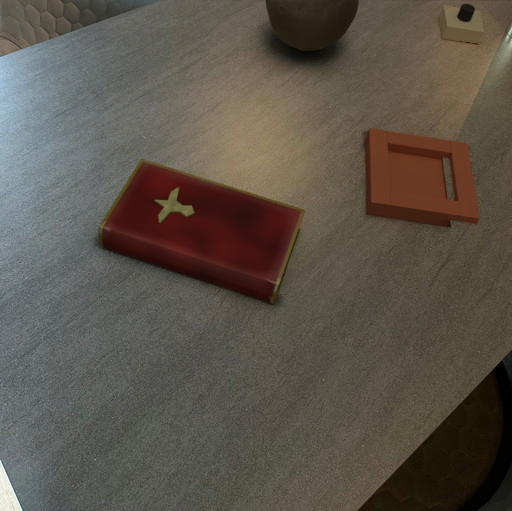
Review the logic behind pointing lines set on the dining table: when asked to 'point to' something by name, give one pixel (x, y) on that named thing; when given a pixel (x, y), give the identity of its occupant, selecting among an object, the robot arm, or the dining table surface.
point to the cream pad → (461, 23)
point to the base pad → (418, 179)
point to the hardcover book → (203, 230)
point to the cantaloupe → (311, 21)
